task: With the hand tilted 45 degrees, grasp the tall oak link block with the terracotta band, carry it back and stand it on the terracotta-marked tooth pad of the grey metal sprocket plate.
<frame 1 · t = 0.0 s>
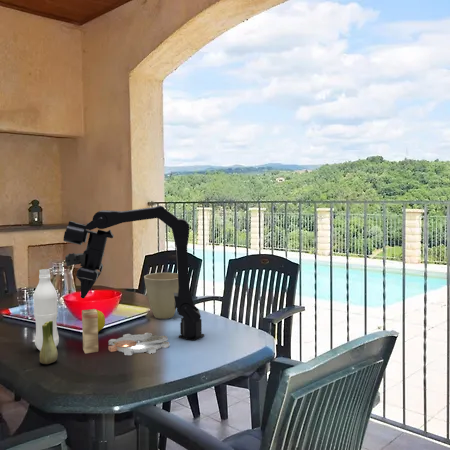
hand: (84, 294, 170), 15 cm above the table, tool pointing down, fingers open, 9 cm apart
water bottle: (47, 349, 164), on the table
plant pot: (164, 317, 203), on the table
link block: (90, 350, 162), on the table
lemon: (97, 333, 182), on the table
fennel bulb: (49, 363, 152), on the table
sprocket plate: (138, 345, 167), on the table
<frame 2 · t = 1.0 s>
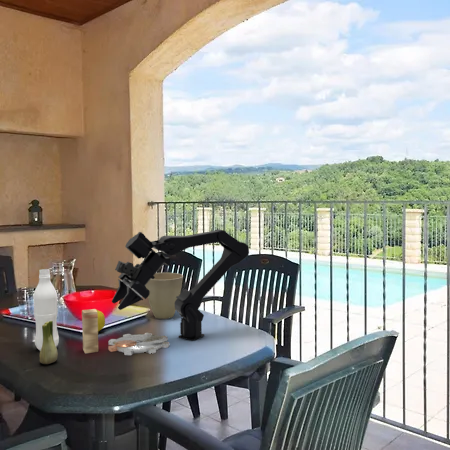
hand: (115, 305, 165), 13 cm above the table, tool tilted 45°, fingers open, 9 cm apart
nothing on the table moved.
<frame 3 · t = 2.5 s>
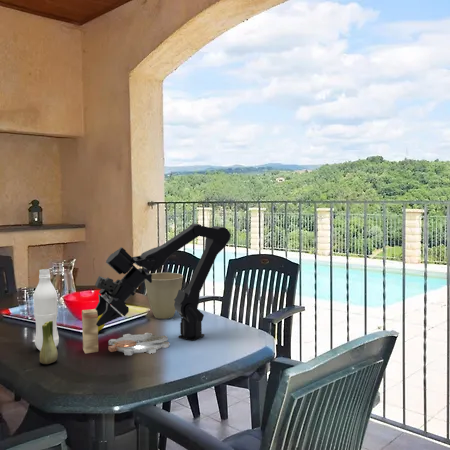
hand: (94, 321, 162), 9 cm above the table, tool tilted 45°, fingers open, 9 cm apart
nothing on the table moved.
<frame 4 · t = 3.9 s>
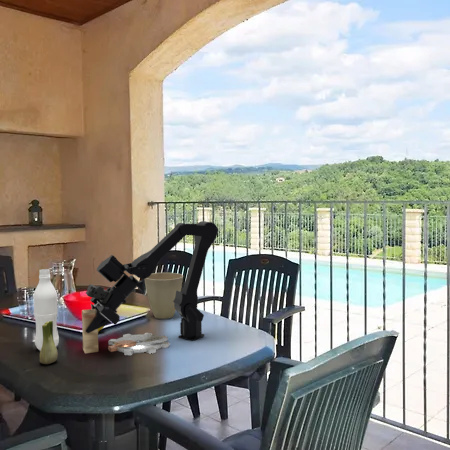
hand: (85, 330, 161), 7 cm above the table, tool tilted 45°, fingers closed on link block, 4 cm apart
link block: (90, 350, 162), on the table, touching gripper
everything else where it was.
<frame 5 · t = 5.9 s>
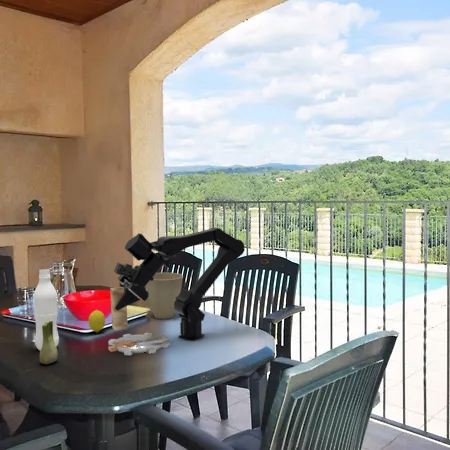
hand: (114, 307, 163), 13 cm above the table, tool tilted 45°, fingers closed on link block, 4 cm apart
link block: (119, 327, 164), point 6 cm above the table, touching gripper
everything else where it was.
when the fingers open (9 cm above the table, at t = 7.9 s): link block stays where it is, resting on sprocket plate.
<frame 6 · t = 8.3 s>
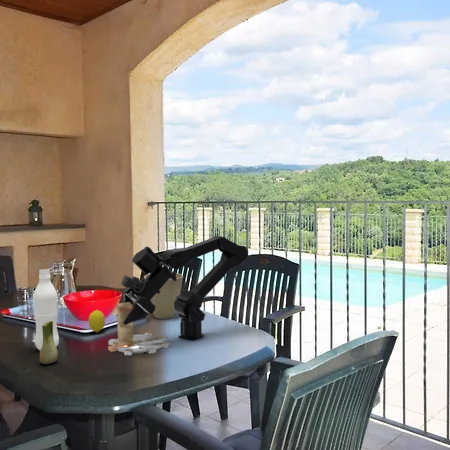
hand: (120, 320, 164), 9 cm above the table, tool tilted 45°, fingers open, 9 cm apart
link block: (125, 343, 165), point 1 cm above the table, touching sprocket plate
everything else where it was.
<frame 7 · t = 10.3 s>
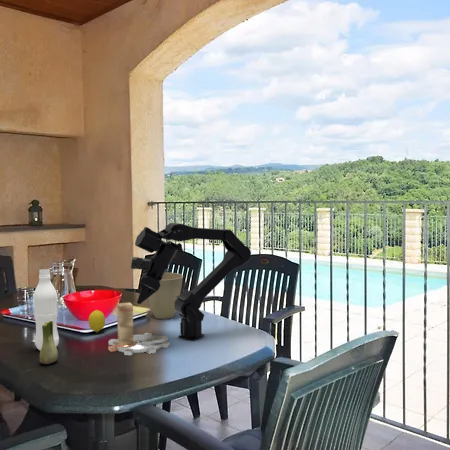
hand: (139, 300, 170), 14 cm above the table, tool tilted 30°, fingers open, 9 cm apart
nothing on the table moved.
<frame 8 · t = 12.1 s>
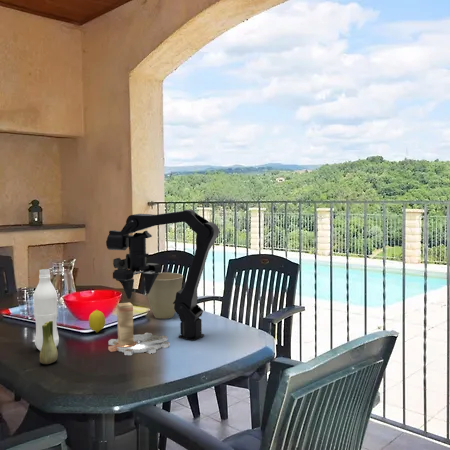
hand: (138, 296, 180), 13 cm above the table, tool pointing down, fingers open, 9 cm apart
nothing on the table moved.
at the end: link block 0.0 cm from the target spot on the sprocket plate, point 1.4 cm above the sprocket plate's base; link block tilted 0°; the gripper is holding nothing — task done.
